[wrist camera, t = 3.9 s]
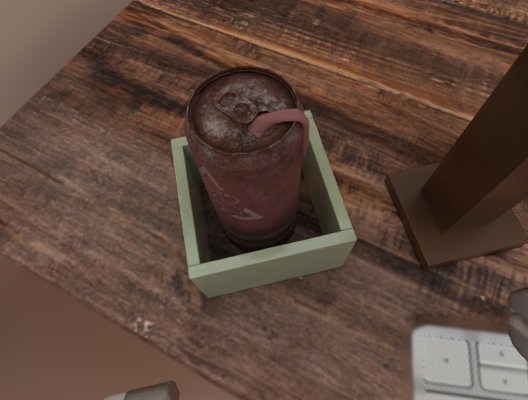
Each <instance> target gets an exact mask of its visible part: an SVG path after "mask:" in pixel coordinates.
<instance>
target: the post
mask: <svg viewBox="0 0 528 400" xmlns="http://www.w3.org/2000/svg"><path fill="white" fill-rule="evenodd" d="M384 181H385V184H386V186H387V188H388V191H389V193H390V195H391V198H392V200H393V202H394V204H395V207H396V209H397V211H398V214H399V216H400V218H401V221H402V223H403V225H404V228H405V230H406V232H407V235H408V237H409V239H410V241H411V244H412V246H413V248H414V251H415V253H416V255H417V258H418V260H419V262H420V265H421V267H422V269H423V270H426V269H430V268H434V267H439V266H443V265H447V264H451V263H455V262H459V261H463V260H467V259H472V258H476V257H480V256H484V255H488V254H492V253H496V252H501V251H505V250H509V249H513V248H517V247H521V246H523V245H525V244H527V243H528V236H527V234H526V232H525V231H524V229H523V227H522V226H521V224H520V222H519V221H518V219H517V217H516V216H515V214H514V212H513V210H512V209H511V208H513V207H514V206H515V205H517V204H518V203H519V202H521V201H522V200H523V199H525V198H526V197H527V196H528V44H527V46H526V47H525V48H524V50H523V51H522V52H521V54H520V55H519V57H518V58H517V59H516V61H515V62H514V63H513V65H512V66H511V67H510V69H509V70H508V72H507V73H506V74H505V76H504V77H503V78H502V80H501V81H500V82H499V84H498V85H497V87H496V88H495V89H494V91H493V92H492V93H491V95H490V96H489V97H488V99H487V100H486V102H485V103H484V104H483V106H482V107H481V108H480V110H479V111H478V112H477V114H476V115H475V117H474V118H473V119H472V121H471V122H470V123H469V125H468V126H467V127H466V129H465V130H464V132H463V133H462V134H461V136H460V137H459V138H458V140H457V141H456V142H455V144H454V145H453V147H452V148H451V149H450V151H449V152H448V153H447V155H446V156H445V157H444V159H443V160H442V162H439V163H434V164H430V165H425V166H421V167H417V168H412V169H408V170H403V171H399V172H394V173H390V174H388V175H387V177H386V179H385V180H384Z"/></svg>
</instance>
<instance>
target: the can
mask: <svg viewBox="0 0 528 400" xmlns="http://www.w3.org/2000/svg"><path fill="white" fill-rule="evenodd" d="M184 131H185V135H186V138H187V142H188V145H189V147H190V150H191V152H192V155H193V157H194V160H195V162H196V165H197V167H198V170H199V172H200V174H201V177H202V179H203V182H204V184H205V187H206V189H207V192H208V194H209V197H210V199H211V202H212V204H213V207H214V209H215V212H216V214H217V216H218V219H219V221H220V224H221V226H222V229H223V231H224V234H225V235H226V236H227V238H228V239H229V241H230V242H231V243H232V244H234V245H235V246H236V247H238V248H239V249H241V250H244V251H247V252H254V251H258V250H263V249H267V248H271V247H275V246H280V245H283V244H284V243H286V242H287V240H288V239H289V238H290V236H291V235H292V234H293V232H294V229H295V225H296V222H297V211H298V200H299V188H300V177H301V165H302V157H303V158H305V154H306V151H307V147H308V144H309V120H308V118H307V117H306V115H305V113H304V108H303V106H302V104H301V102H300V100H299V97H298V96H297V95H296V93H295V91H294V89H293V87H292V86H291V85H290V84H289V83H288V82H287V81H286V80H285V79H284V78H283V77H282V76H281V75H279V74H277V73H275V72H273V71H271V70H269V69H265V68H261V67H256V66H235V67H232V68H228V69H224V70H220V71H218V72H217V73H215V74H213V75H211V76H209V77H207V78H206V79H205V80H204V81H203V82H202V83H201V84H200V85H198V86H197V87H196V88H195V90H194V92H193V94H192V95H191V97H190V99H189V101H188V107H187V111H186V115H185V122H184Z"/></svg>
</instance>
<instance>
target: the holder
mask: <svg viewBox="0 0 528 400" xmlns="http://www.w3.org/2000/svg"><path fill="white" fill-rule="evenodd" d="M304 113H305V115H306V117H307V118H308V120H309V144H308V147H307V151H306V154H305V158H303V157H302V165H301V169H302V172H303V175H304V178H305V181H306V185H307V188H308V191H309V194H310V197H311V200H312V203H313V207H314V210H315V213H316V216H317V219H318V222H319V225H320V228H321V232H322V235H323V236H318V237H314V238H310V239H306V240H301V241H297V242H293V243H288V244H284V245H280V246H275V247H271V248H267V249H263V250H258V251H254V252H250V253H245V254H241V255H237V256H232V257H228V258H224V259H220V260H215V261H212V258H211V252H210V246H209V240H208V234H207V228H206V222H205V216H204V210H203V204H202V198H201V192H200V186H199V185H201V184H204V182H203V179H202V177H201V174H200V172H199V170H198V167H197V165H196V162H195V160H194V157H193V155H192V152H191V150H190V147H189V145H188V142H187V138H186V136H185V137H180V138H176V139H171V147H172V154H173V161H174V169H175V176H176V184H177V191H178V199H179V206H180V213H181V221H182V228H183V236H184V243H185V251H186V258H187V265H188V273H189V279H190V280H191V281H192V282H193V283H194V284H195V285H196V286H197V287H198V288H199V289H200V290H201V291H202V293H203V294H204V295H205V296H206V297H207V298H211V297H215V296H220V295H224V294H228V293H232V292H236V291H241V290H245V289H249V288H253V287H257V286H262V285H266V284H270V283H274V282H278V281H283V280H287V279H291V278H295V277H299V276H304V275H308V274H312V273H316V272H320V271H325V270H329V269H333V268H337V267H341V266H343V265H344V263H345V261H346V259H347V257H348V255H349V254H350V252H351V250H352V248H353V246H354V244H355V242H356V241H357V238H356V235H355V232H354V230H353V229H352V228H353V227H352V224H351V221H350V219H349V216H348V213H347V210H346V208H345V205H344V202H343V199H342V197H341V194H340V191H339V188H338V186H337V183H336V180H335V177H334V175H333V172H332V169H331V166H330V164H329V161H328V158H327V155H326V152H325V150H324V147H323V144H322V141H321V139H320V136H319V133H318V130H317V128H316V125H315V122H314V119H313V117H312V114H311V111H310V110H308V111H304Z"/></svg>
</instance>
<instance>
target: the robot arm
mask: <svg viewBox="0 0 528 400" xmlns="http://www.w3.org/2000/svg"><path fill="white" fill-rule="evenodd" d="M508 307H509V308H510V309H511V310H512V311H513V312H514V313H513V314H512V316H511V317H510V319H509V321H508V334H509V337H510V339H511V341H512V344H513V345H514V347H515V348H516V349H517V351H518V352H519V353H520V354H521V355H522V356H523V357H524V358H525V359H526V360H527V361H528V287H527V288H523V289H519V290H516V291H512V292H511V294H510V296H509V298H508ZM179 394H180V393H179V390H178V388H177V386H176V383H175V382H174V381H168V382H164V383H160V384H156V385H151V386H147V387H143V388H139V389H134V390H130V391H128V392H124V393H119V394H115V395H111V396H107V397H106V398H105V399H104V400H179Z"/></svg>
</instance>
